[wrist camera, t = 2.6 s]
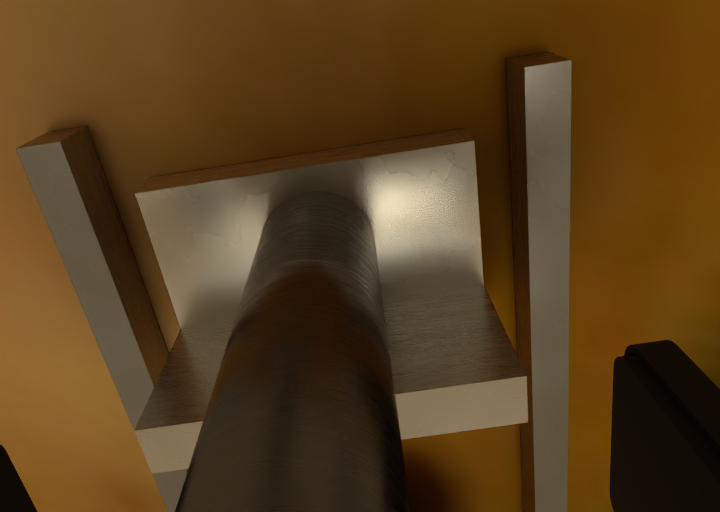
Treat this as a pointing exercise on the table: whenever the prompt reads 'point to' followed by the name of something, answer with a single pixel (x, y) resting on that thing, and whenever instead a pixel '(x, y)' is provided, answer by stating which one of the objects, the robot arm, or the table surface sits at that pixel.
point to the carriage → (323, 325)
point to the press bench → (530, 247)
